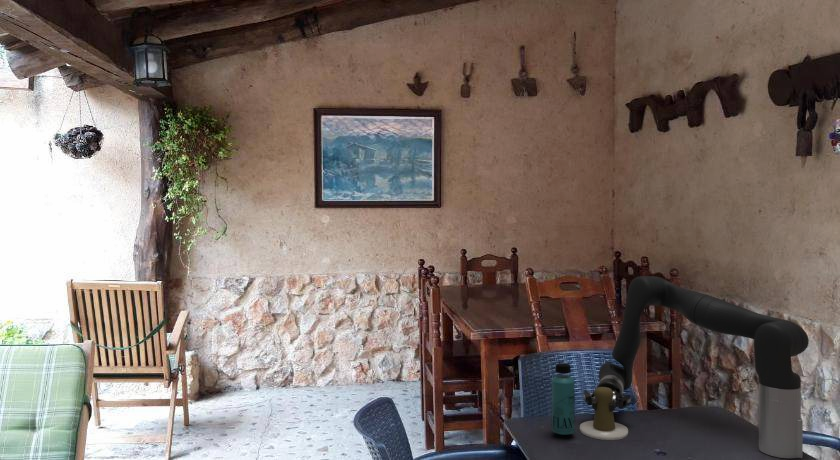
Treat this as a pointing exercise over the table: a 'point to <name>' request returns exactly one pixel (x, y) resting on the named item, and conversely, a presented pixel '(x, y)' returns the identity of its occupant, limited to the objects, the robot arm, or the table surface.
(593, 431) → the saucer
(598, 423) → the cork
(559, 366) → the beverage bottle
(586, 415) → the table surface
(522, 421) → the table surface
